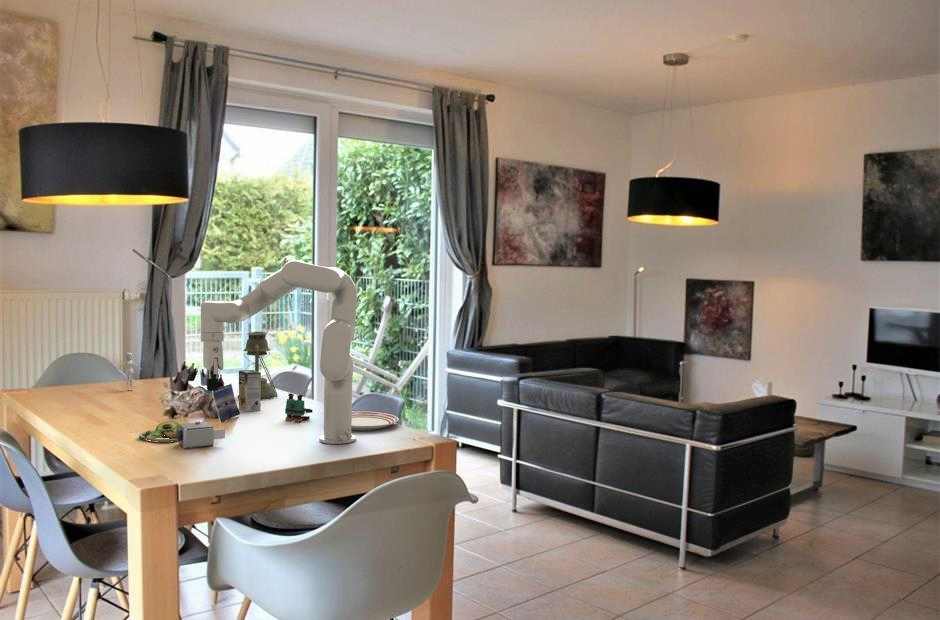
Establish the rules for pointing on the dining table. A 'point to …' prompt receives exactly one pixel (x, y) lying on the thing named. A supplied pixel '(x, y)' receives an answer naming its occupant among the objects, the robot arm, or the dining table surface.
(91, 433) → the dining table surface
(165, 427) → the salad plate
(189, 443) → the side door
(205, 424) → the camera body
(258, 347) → the green desk lamp
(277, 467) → the dining table surface
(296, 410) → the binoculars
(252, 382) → the coffee box
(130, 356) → the human figurine
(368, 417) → the dinner plate
